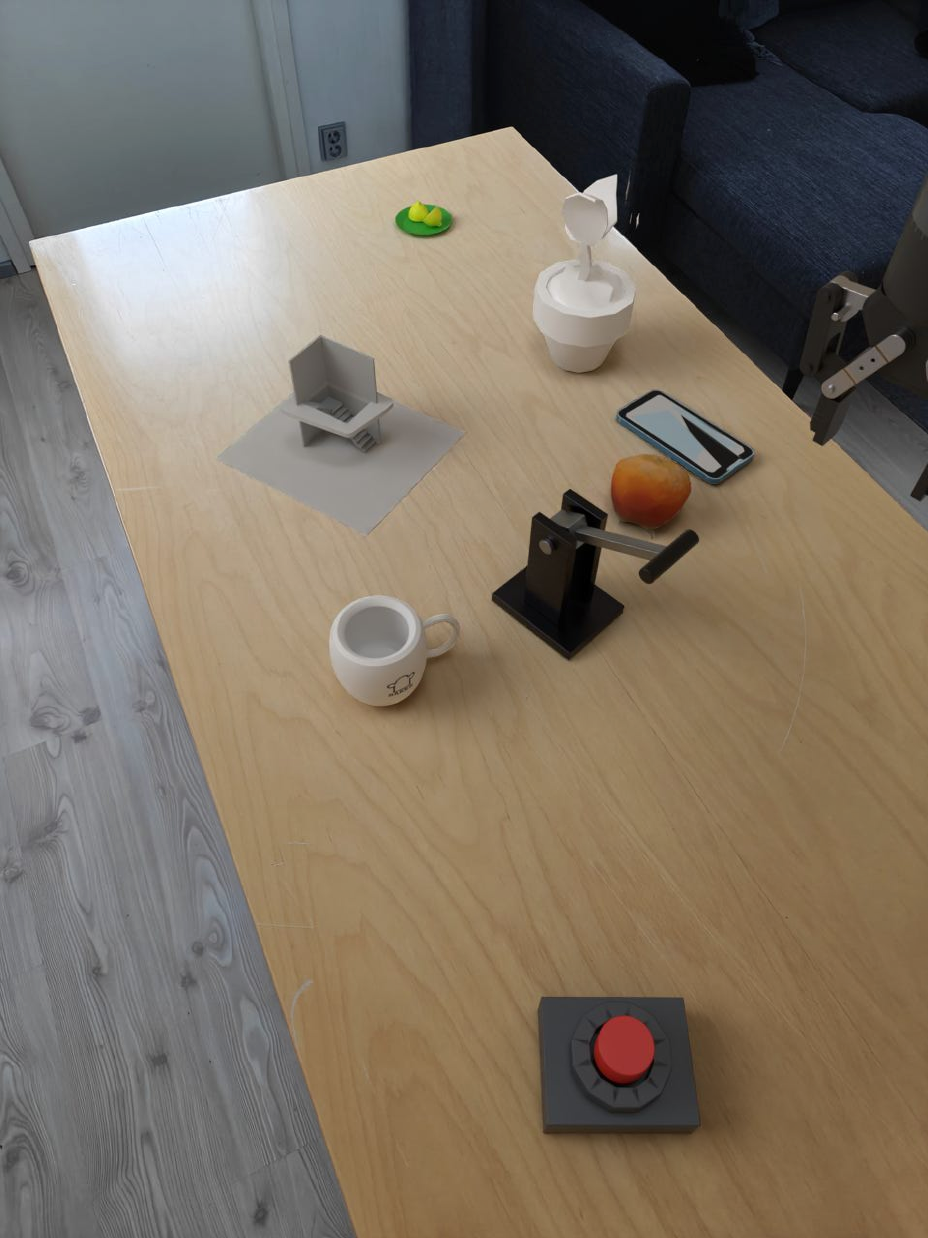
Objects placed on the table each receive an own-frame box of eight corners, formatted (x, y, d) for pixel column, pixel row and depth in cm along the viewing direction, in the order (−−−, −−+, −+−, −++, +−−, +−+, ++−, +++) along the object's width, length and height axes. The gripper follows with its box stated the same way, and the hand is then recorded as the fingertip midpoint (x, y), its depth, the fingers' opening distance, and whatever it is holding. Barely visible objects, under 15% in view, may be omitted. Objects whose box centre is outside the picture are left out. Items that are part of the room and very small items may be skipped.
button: (645, 1025, 62) (651, 1015, 60) (651, 1084, 60) (658, 1076, 58) (591, 1025, 62) (596, 1015, 60) (596, 1084, 60) (601, 1075, 58)
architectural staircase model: (365, 536, 95) (356, 451, 86) (214, 458, 102) (190, 372, 92) (466, 432, 105) (467, 346, 95) (322, 367, 111) (310, 281, 102)
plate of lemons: (461, 215, 132) (461, 196, 130) (437, 244, 128) (436, 224, 125) (410, 203, 134) (410, 184, 132) (385, 230, 130) (384, 211, 127)
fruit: (592, 530, 94) (613, 453, 91) (606, 513, 101) (625, 441, 98) (670, 552, 92) (694, 475, 89) (678, 533, 99) (700, 461, 96)
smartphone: (656, 386, 108) (759, 451, 101) (655, 393, 109) (756, 458, 102) (612, 413, 105) (715, 482, 98) (611, 420, 106) (713, 489, 99)
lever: (701, 550, 74) (697, 525, 73) (655, 591, 72) (649, 566, 70) (581, 520, 84) (575, 498, 82) (537, 555, 81) (530, 532, 80)
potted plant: (600, 400, 108) (633, 192, 88) (512, 368, 111) (525, 161, 92) (643, 343, 115) (683, 137, 95) (558, 314, 118) (580, 110, 98)
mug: (355, 733, 81) (346, 684, 75) (322, 660, 86) (312, 608, 79) (479, 685, 84) (481, 634, 78) (441, 617, 89) (440, 564, 82)
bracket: (623, 613, 89) (645, 521, 79) (568, 661, 86) (584, 572, 76) (546, 557, 93) (557, 463, 83) (491, 600, 90) (495, 508, 80)
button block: (675, 1009, 67) (688, 990, 63) (691, 1134, 62) (707, 1121, 58) (537, 1008, 67) (542, 989, 63) (543, 1133, 62) (549, 1121, 58)
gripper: (825, 190, 47) (744, 438, 61) (1106, 310, 41) (947, 556, 55) (899, 141, 51) (807, 386, 64) (1170, 245, 45) (1005, 492, 58)
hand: (872, 464), depth 59 cm, fingers open, 6 cm apart
